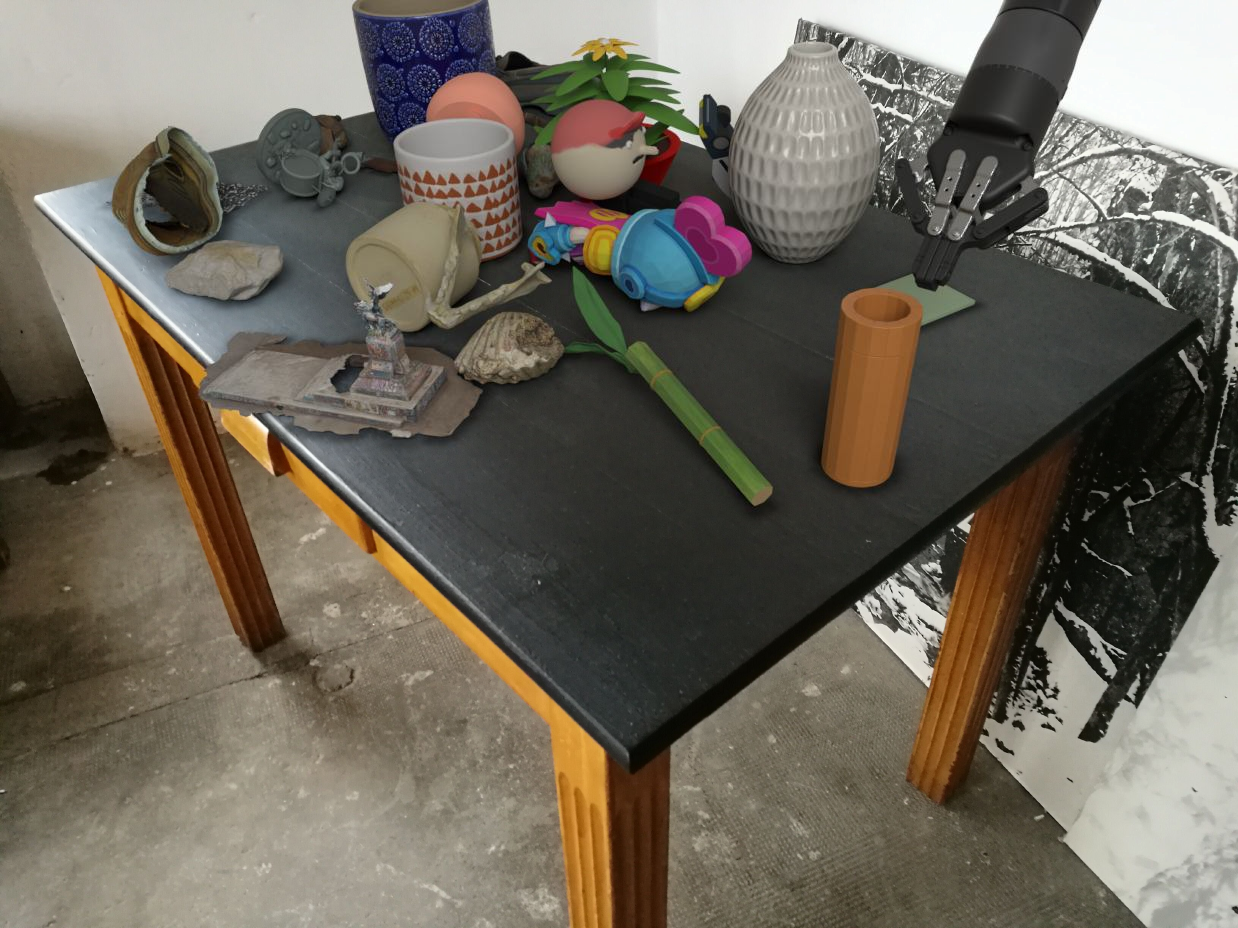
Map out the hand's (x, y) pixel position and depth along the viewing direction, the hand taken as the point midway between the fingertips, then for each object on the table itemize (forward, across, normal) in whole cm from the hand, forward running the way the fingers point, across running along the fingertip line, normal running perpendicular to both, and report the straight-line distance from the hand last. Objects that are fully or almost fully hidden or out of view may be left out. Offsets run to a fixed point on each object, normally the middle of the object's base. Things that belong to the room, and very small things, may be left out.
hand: (925, 286), depth 73 cm
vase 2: (+7, -58, +12) cm, 59 cm away
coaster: (-5, -7, +23) cm, 24 cm away
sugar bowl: (+17, -51, -6) cm, 54 cm away
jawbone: (+15, -40, -4) cm, 43 cm away
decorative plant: (+18, -17, 0) cm, 25 cm away
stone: (+17, -73, -3) cm, 75 cm away
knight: (+2, -47, +11) cm, 48 cm away
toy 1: (-3, -38, +9) cm, 40 cm away
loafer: (-24, -85, +42) cm, 98 cm away
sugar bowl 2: (-5, -62, +10) cm, 63 cm away
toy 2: (-3, -29, +16) cm, 33 cm away
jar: (+15, 0, +3) cm, 15 cm away
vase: (-7, -23, +25) cm, 35 cm away
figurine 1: (+3, -92, +8) cm, 92 cm away
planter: (-8, -82, +26) cm, 87 cm away
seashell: (+16, -29, -5) cm, 33 cm away
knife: (+1, -74, +17) cm, 76 cm away
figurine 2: (-1, -101, +16) cm, 102 cm away
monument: (+27, -47, -9) cm, 55 cm away
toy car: (-16, -33, +22) cm, 43 cm away
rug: (+14, -101, +3) cm, 102 cm away
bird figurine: (-19, -67, +28) cm, 75 cm away
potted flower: (-6, -48, +24) cm, 55 cm away
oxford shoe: (+13, -87, -5) cm, 89 cm away
